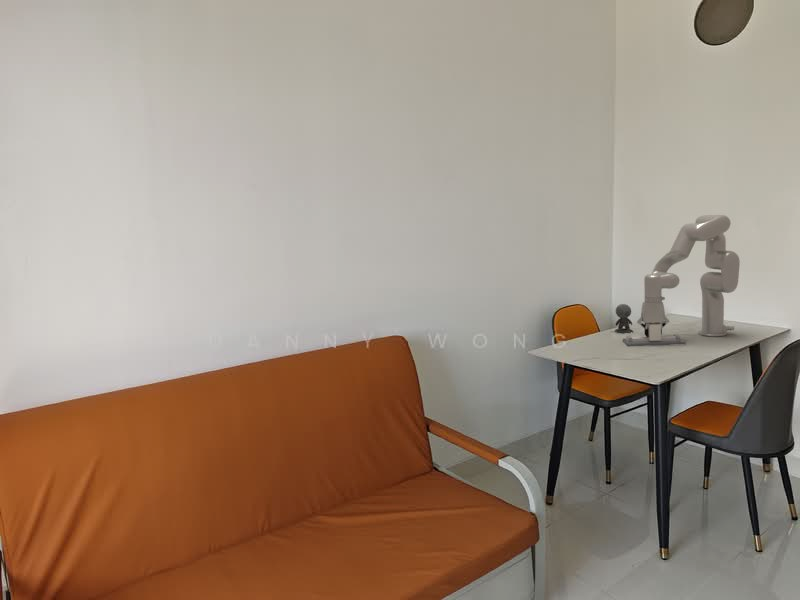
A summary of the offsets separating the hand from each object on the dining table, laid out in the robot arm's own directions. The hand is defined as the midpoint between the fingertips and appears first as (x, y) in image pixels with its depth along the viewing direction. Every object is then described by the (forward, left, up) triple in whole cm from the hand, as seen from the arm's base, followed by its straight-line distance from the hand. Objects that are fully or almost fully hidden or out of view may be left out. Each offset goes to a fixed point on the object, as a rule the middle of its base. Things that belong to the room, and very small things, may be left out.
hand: (653, 335), depth 270 cm
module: (0, 0, -1) cm, 1 cm away
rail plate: (0, 0, -3) cm, 3 cm away
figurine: (+8, -26, -4) cm, 28 cm away
